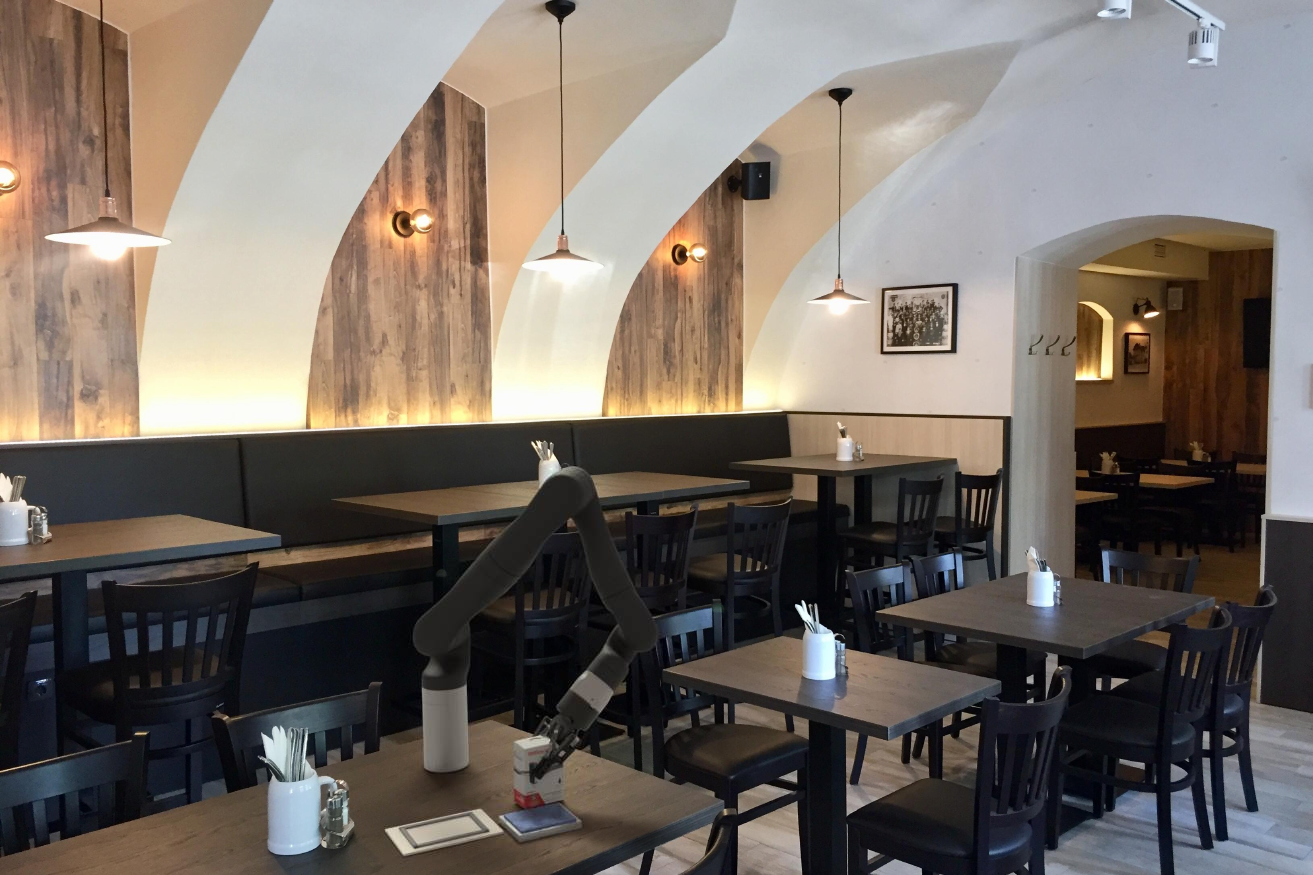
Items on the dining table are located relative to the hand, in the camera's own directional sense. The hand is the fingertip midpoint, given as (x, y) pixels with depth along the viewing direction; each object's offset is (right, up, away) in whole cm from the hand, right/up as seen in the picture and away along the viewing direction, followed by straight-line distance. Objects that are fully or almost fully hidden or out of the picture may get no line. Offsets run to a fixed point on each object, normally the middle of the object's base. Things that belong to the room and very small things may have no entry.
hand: (529, 771), depth 202 cm
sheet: (-14, -7, -12) cm, 20 cm away
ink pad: (+3, -7, -10) cm, 12 cm away
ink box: (+2, -6, +1) cm, 6 cm away
